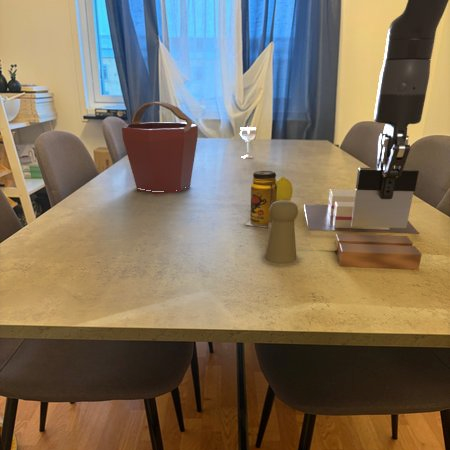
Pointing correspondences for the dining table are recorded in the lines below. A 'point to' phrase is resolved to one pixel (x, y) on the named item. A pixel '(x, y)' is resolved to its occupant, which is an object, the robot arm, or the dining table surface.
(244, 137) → the wineglass
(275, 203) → the cork
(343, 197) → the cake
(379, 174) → the black and beige panel
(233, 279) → the dining table surface
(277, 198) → the lemon
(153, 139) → the bucket
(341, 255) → the wooden card holder
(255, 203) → the condiment
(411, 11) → the robot arm
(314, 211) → the cake board
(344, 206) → the cake slice
